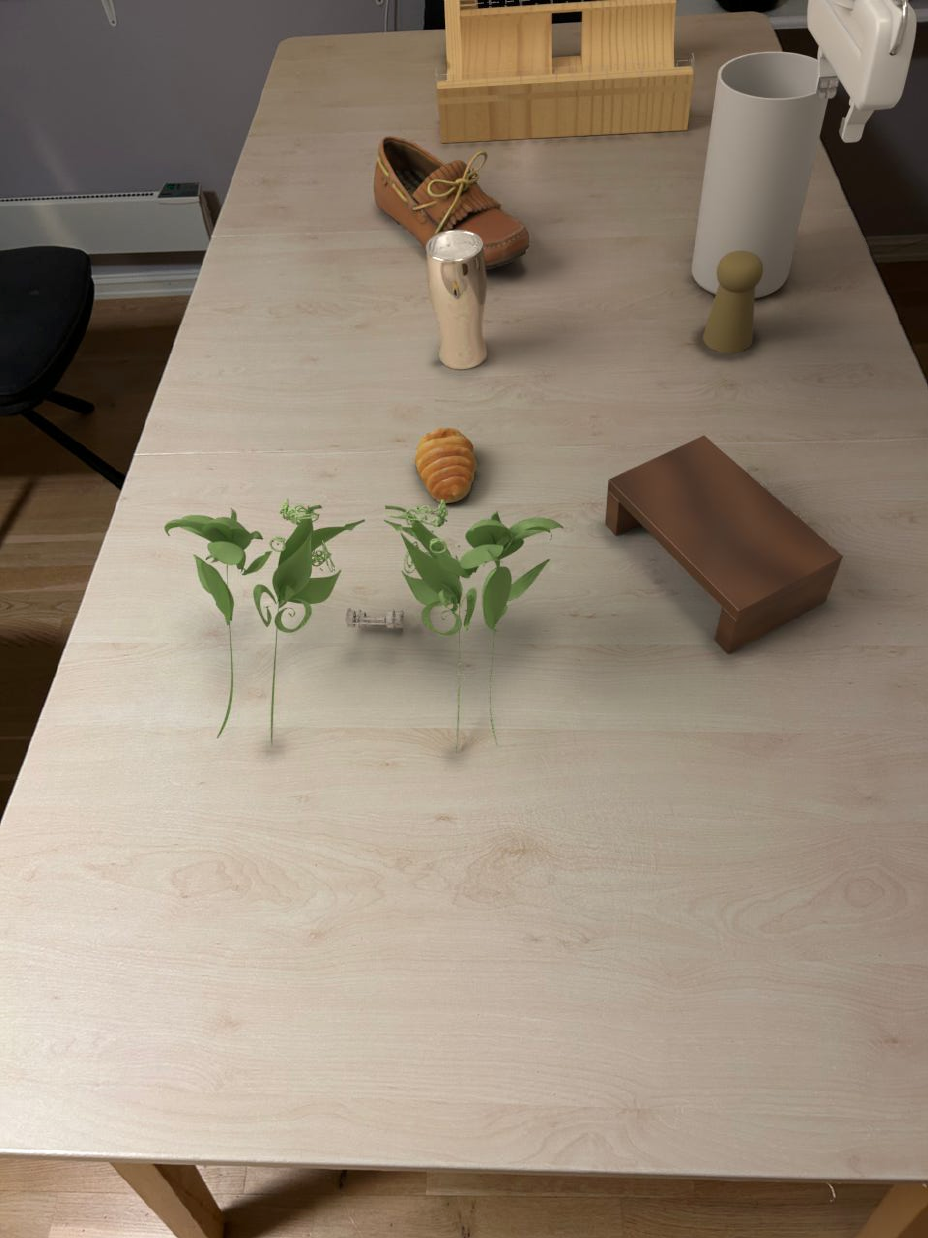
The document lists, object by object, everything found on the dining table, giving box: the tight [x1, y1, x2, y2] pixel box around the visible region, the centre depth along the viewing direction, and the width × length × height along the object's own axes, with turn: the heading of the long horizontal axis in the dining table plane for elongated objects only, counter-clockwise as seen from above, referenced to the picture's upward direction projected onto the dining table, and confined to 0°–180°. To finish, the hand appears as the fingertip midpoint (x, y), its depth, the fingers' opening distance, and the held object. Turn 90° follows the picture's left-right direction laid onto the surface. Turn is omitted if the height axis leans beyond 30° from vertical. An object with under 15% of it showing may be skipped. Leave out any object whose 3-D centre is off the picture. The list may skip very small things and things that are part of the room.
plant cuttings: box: [164, 498, 564, 753], centre depth 84 cm, size 35×17×22 cm
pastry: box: [414, 427, 477, 504], centre depth 103 cm, size 9×7×4 cm
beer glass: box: [425, 230, 488, 370], centre depth 112 cm, size 7×7×15 cm
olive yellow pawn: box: [702, 251, 763, 354], centre depth 112 cm, size 6×6×11 cm
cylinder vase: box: [691, 51, 829, 299], centre depth 115 cm, size 12×12×25 cm
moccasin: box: [373, 135, 531, 270], centre depth 130 cm, size 31×12×12 cm, turn 26°
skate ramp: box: [434, 0, 696, 144], centre depth 157 cm, size 40×35×16 cm
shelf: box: [604, 435, 844, 655], centre depth 92 cm, size 12×20×6 cm, turn 29°
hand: (836, 116), depth 93 cm, fingers open, 8 cm apart
